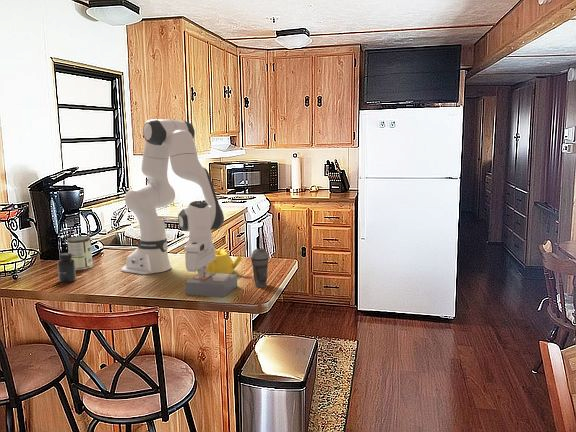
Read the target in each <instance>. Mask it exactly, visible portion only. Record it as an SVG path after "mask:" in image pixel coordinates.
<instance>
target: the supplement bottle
mask: <svg viewBox="0 0 576 432" xmlns="http://www.w3.org/2000/svg"><path fill="white" fill-rule="evenodd" d="M71 258H72V254H71V253H68V252H62V253H60V254H59V260H58V262H57V272H58V273H57V274H58V275H57V276H58V282H59V283H61V284H69V283H74V282H75V281H76V279H77V275H76V270H75V261H74V260H73V259H71Z"/></svg>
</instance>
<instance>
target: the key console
mask: <svg viewBox="0 0 576 432" xmlns="http://www.w3.org/2000/svg"><path fill="white" fill-rule="evenodd" d="M215 274H217V273H206V275H211V277H210V278H208V279H207V280H196V279H194V278H195V277H197V276H198V275H199V273H197V274H196V275H195V276H192V277H191V278H189V279H188V280H186V281H185V283H184V286H185V295H189V296H203V297H214V298H215V297H216V298H225V297H227V296H228V295H229V294H230V293H231V292H233V291H234V290H235V289H236V288H237V287H238V274H233V273H232V274H229V279H228V280H226V281H213V278H212V276H214V275H215Z"/></svg>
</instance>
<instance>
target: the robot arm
mask: <svg viewBox="0 0 576 432" xmlns="http://www.w3.org/2000/svg"><path fill="white" fill-rule="evenodd" d="M142 129H143V130H142V134H143V135H142V136H143V138H144V139H145V143H144V147H143V153H142V162H141V173H142V174H143V175H144V176H146V177H147V185H141V186H140V185H139V186H136V187H133V188H131V189H129V190H128V191H126V193H125V195H124V202H125V205H126V207H127V209H129V211H132V213H133V214H134V215H135V216H136V218H137V220H138V224H139V232H140V239H139V240H138V241H135V243H136V244H135V245H138V246H137V248H136V249H135V250H133V251H132V252H131V253H130V254H129V255H127V256H126V257H127V258H126V263H125V265H123V266H122V267H121V272H124V273H133V274H139V275H150V274H154V273H155V274H157V273H162V272H166V271H169V270H170V269H172V265H171V262H170V259H169V255H168V254H169V253H168V238H167V235H166V234H167V233H166V223H165V220H164V219H163V218H162V217H159V216H158V213H157V210H156V209H160V208H164V207H167V206H169V205H170V204H172V203H174V201H175V198H176V193H175V189H174V187H173V186H172V185H171V184H170V183H169V179H168V169H169V160H170V166H171V170H172V171H173V173H174V174H175V176H178V177H179V178H181V179H184V180H187V181H188V182H189V181H190V182H193V183H195V184H196V185H198V186H199V187H200V188H201V190H202V194H203V197H204V200H205V201H201V200H195V201H190V203H189V204H188V207H186V208H183V209H181V210H180V212H179V213H178V216H177V217H178V219H177V220H178V221H177V222H178V227H179V228H180V229H181V230H182V231H184V232H189V235H188V240H187V242H186V243H185V244H184V246H183V250H184V252H185V256H184V257H185V258H184V259H185V260H184V261H185V269H186V271H187V272H191V273H196V272H197V274H199V278H203V277H204V276H206V269H207V264H209V263H210V262H212V261H214V260H215V258H216V253H215V250H216V248H215V247H216V246H215V243H214V242H213V233H212V231H217V230H218V229H220V228H221V227H222V225H223V224H224V222H225V217H224V215H225V214H224V212H223V210H222V207H221V205H220V203H219V201H218V197H217V194H216V191H215V187H214V185H213V181H212V178H211V175H210V173H209V171H208V169H207V168H205V167H204V166H202V164H201V162H200V161H199V158H198V152H197V148H196V143H195V140H194V139H195V133H196V132H195V129H194V126H193V124H192V123H191V122H189V121H186V120H179V119H173V118H170V119H169V118H168V119H166V118H165V119H164V118H163V119H157V118H154V119H149V120H146V122H145V123H144V126H143V128H142Z"/></svg>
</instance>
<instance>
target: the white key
mask: <svg viewBox="0 0 576 432" xmlns="http://www.w3.org/2000/svg"><path fill="white" fill-rule="evenodd" d="M212 278H213V281H226V280H228V279H229V274H225V273H217V274H215V275H214V276H212Z"/></svg>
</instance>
